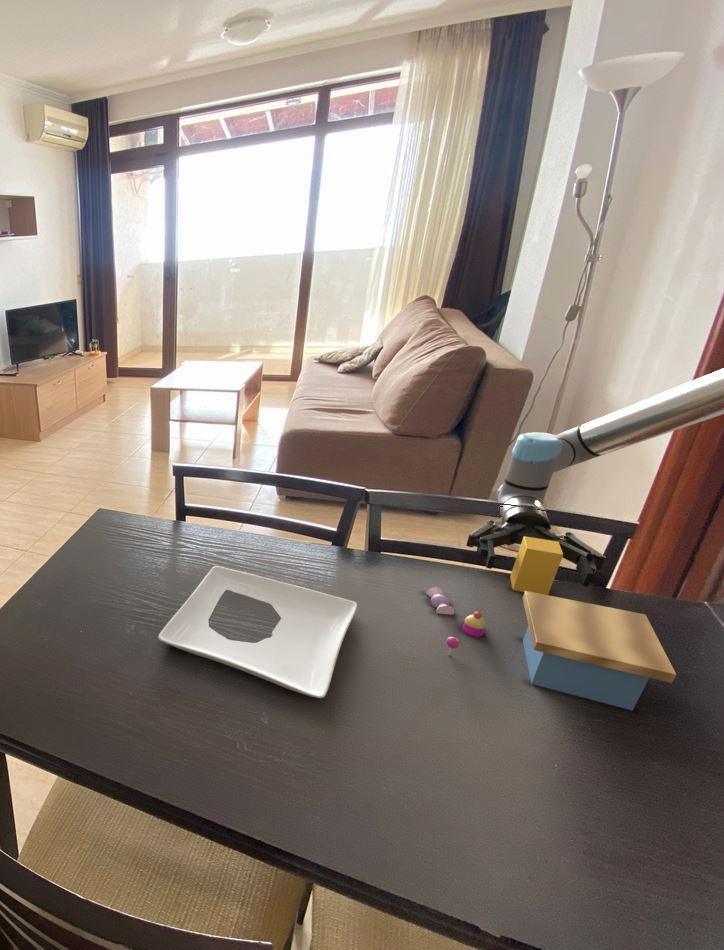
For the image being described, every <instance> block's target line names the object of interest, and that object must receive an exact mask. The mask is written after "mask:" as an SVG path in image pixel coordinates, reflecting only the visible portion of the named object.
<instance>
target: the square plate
mask: <svg viewBox="0 0 724 950" xmlns="http://www.w3.org/2000/svg"><path fill="white" fill-rule="evenodd" d="M225 591H230V592H233V593H236V594H239V595H242V596H246V597H249V598H251V599H254V600H258V601H261V602H263V603H267V604H270V605H271V606H272V607H273V609H274V610H275V612H276V613H277V614H278V616H279V617H280V620H278V622H277V624H276V626H275V627H274V628H273V630H272V631H271V636H270V637H266V638H263V639H261V640H260V641H257V642H248V641H240V640H233V639H228V638H227V637H225V636H224V635H222V634H220V633H219V632H217V631H215V629H212V628H211V627H210V624H209V623H210V622H209V620H210V617H211V616H212V614H213V612H214V610H215V608H216V606H217V604H218V603H219V601H220V598H221V597H222V595H224V593H225ZM357 609H358V603H357V602H356V601H354V600H350V599H347V598H343V597H339V596H336V595H333V594H328V593H325V592H321V591H318V590H316V589H315V590H314V589H310V588H307V587H304V586H299V585H295V584H292V583H288V582H283V581H280V580H276V579H272V578H269V577H265V576H260V575H257V574H254V573H249V572H245V571H241V570H236V569H233V568H228V567H223V566H220V565H214V566H213V567H211V568H210V570H209V571H208V572H207V574H206V575H205V576H204V578H203V579H202V580H201V581H200V583H199V584H198V586H197V587H196V588H195V589H194V591H193V592H192V593H191V595H190V596H189V597H187V599H186V600H185V602H184V603H183V604H182V605H181V607H180V608H179V609H178V610H177V612H175V613H174V615H173V616H172V617H171V619H170V620H168V622H167V623H166V624H165V626H164V627H163V628H162V630H161V631H160V632H159V634H158V636H157V638H158V640H159V641H160V642H162V643H165V644H167V645H170V646H171V647H173V648H176V649H178V650H181V651H183V652H187V653H190V654H193V655H196V656H199V657H202V658H206V659H207V660H212V661H215V662H217V663H221V664H223V665H226V666H229V667H231V668H234V669H237V670H239V671H242V672H245V673H248V674H250V675H253V676H255V677H257V678H260V679H262V680H265V681H267V682H270V683H272V684H275V685H277V686H280V687H282V688H285V689H287V690H290V691H292V692H296V693H299V694H301V695H305V696H308V697H311V698H317V699H323V698H325V697H326V695H327V694H328V691H329V688H330V685H331V681H332V678H333V674H334V670H335V667H336V664H337V660H338V657H339V653H340V650H341V647H342V644H343V641H344V639H345V637H346V633H347V632H348V629H349V627H350V625H351V623H352V621H353V618H354V616H355V614H356V611H357Z"/></svg>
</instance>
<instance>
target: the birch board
mask: <svg viewBox="0 0 724 950" xmlns="http://www.w3.org/2000/svg"><path fill="white" fill-rule="evenodd" d="M522 602H523V606H524V611H525V615H526V620H527V624H528V625H529V630H530V634H531V639H532V644H533V648H534V650H535V651H540V652H544V653H548V654H552V655H556V656H561V657H565V658H569V659H573V660H577V661H581V662H586V663H590V664H594V665H598V666H602V667H606V668H611V669H615V670H619V671H623V672H627V673H632V674H636V675H640V676H644V677H648V678H649V679H653V680H657V681H660V682H666V683H669V684H672V683H673V682H674V680H675V679H676V677H677V672H676V671H675V669H674V667H673V665H672V663H671V661H670V659H669V657H668V655H667V654H666V652H665V650H664V648H663V645H662V644H661V642H660V640H659V638H658V635H657V634H656V632H655V629H654V628H653V625H651V622H650V620H649V619H648V616H647V615H646V614H644V613H639V612H634V611H629V610H625V609H620V608H614V607H609V606H605V605H599V604H594V603H590V602H584V601H579V600H574V599H568V598H563V597H558V596H553V595H550V594H548V595H544V594H539V593H534V592H528V591H525V592H523V595H522ZM528 625H527V626H528Z"/></svg>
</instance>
